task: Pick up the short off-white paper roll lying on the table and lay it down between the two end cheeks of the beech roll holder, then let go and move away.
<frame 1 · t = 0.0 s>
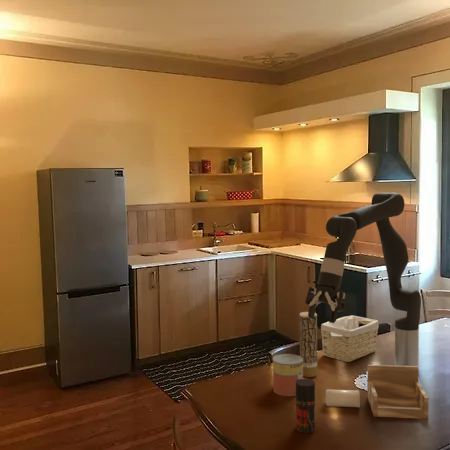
hand: (320, 320, 172), 31 cm above the table, tool tilted 20°, fingers open, 8 cm apart
deodorant: (305, 429, 163), on the table
holder: (396, 407, 176), on the table
storage basket: (350, 354, 232), on the table
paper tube: (308, 375, 208), on the table
canned food: (288, 390, 193), on the table
roll: (342, 398, 179), point 3 cm above the table
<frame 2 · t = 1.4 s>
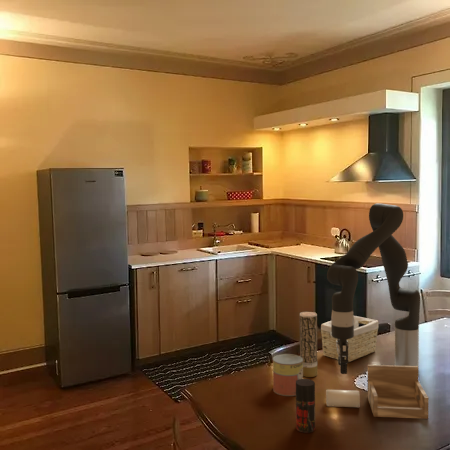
hand: (342, 369, 178), 13 cm above the table, tool pointing down, fingers open, 8 cm apart
nothing on the table moved.
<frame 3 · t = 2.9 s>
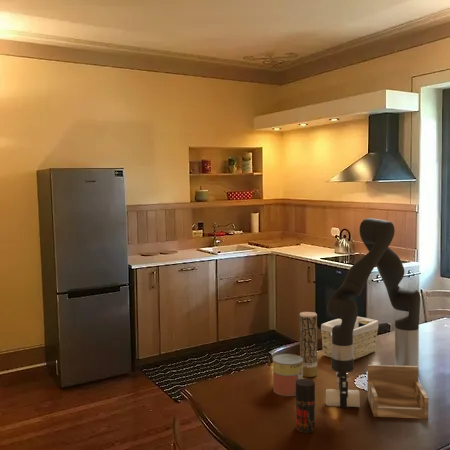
hand: (342, 403, 179), 1 cm above the table, tool pointing down, fingers closed on roll, 5 cm apart
roll: (342, 397, 179), point 3 cm above the table, touching gripper
everything else where it was.
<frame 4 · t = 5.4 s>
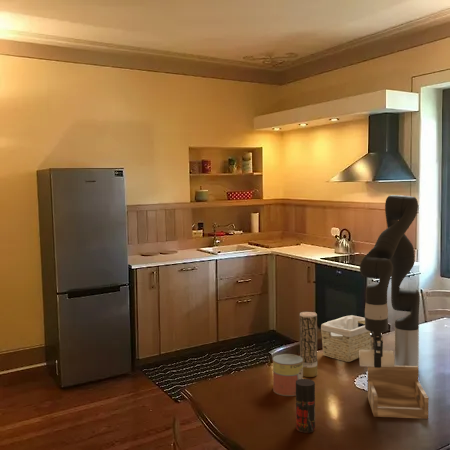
hand: (376, 363, 177), 15 cm above the table, tool pointing down, fingers closed on roll, 5 cm apart
roll: (376, 358, 177), point 17 cm above the table, touching gripper
everything else where it was.
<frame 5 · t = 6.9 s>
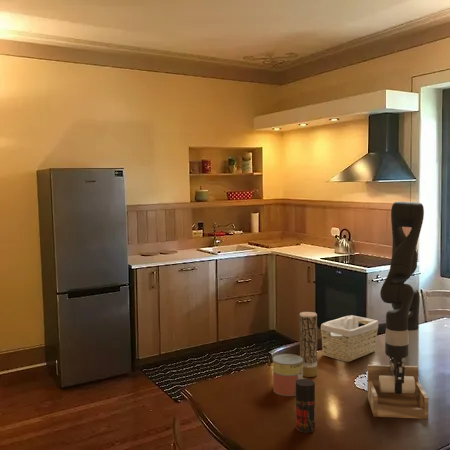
hand: (396, 389, 176), 6 cm above the table, tool pointing down, fingers closed on roll, 5 cm apart
roll: (396, 384, 176), point 8 cm above the table, touching gripper
everything else where it was.
when the fingers open (3 cm above the table, at t = 7.9 s): roll drops 2 cm, resting on holder.
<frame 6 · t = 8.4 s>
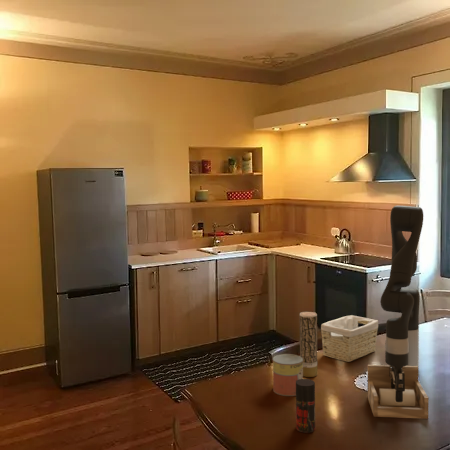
hand: (396, 396, 175), 4 cm above the table, tool pointing down, fingers open, 8 cm apart
roll: (396, 397, 176), point 4 cm above the table, tilted 10°, touching holder
everything else where it was.
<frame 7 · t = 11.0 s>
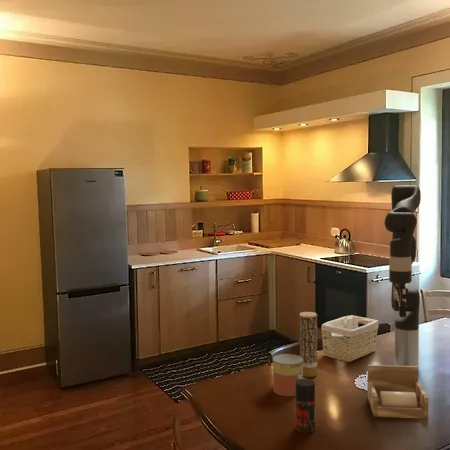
hand: (400, 313, 183), 30 cm above the table, tool pointing down, fingers open, 8 cm apart
roll: (398, 400, 173), point 4 cm above the table, tilted 56°, touching holder
everything else where it was.
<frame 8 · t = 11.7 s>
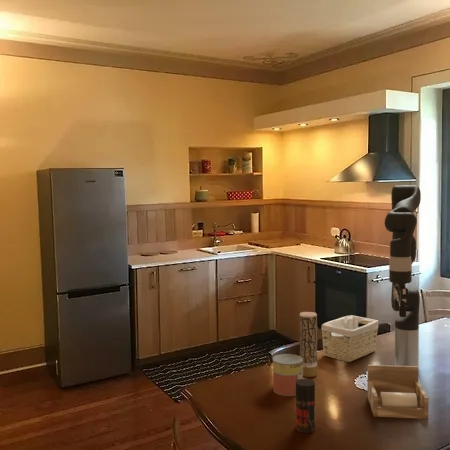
hand: (400, 313, 183), 30 cm above the table, tool pointing down, fingers open, 8 cm apart
roll: (398, 401, 173), point 4 cm above the table, tilted 70°, touching holder
everything else where it was.
at the end: roll inside the target area on the holder (3.6 cm from its centre), point 3.7 cm above the holder's base; the gripper is holding nothing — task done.
